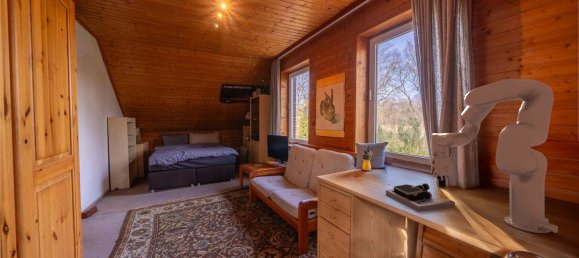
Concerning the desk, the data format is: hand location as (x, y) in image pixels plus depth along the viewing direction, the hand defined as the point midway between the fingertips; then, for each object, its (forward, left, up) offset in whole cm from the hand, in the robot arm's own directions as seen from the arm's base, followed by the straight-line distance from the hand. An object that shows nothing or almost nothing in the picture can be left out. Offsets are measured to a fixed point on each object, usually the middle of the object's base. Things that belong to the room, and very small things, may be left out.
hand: (442, 186), depth 121 cm
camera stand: (+1, +15, -6) cm, 16 cm away
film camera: (+4, +15, -7) cm, 17 cm away
